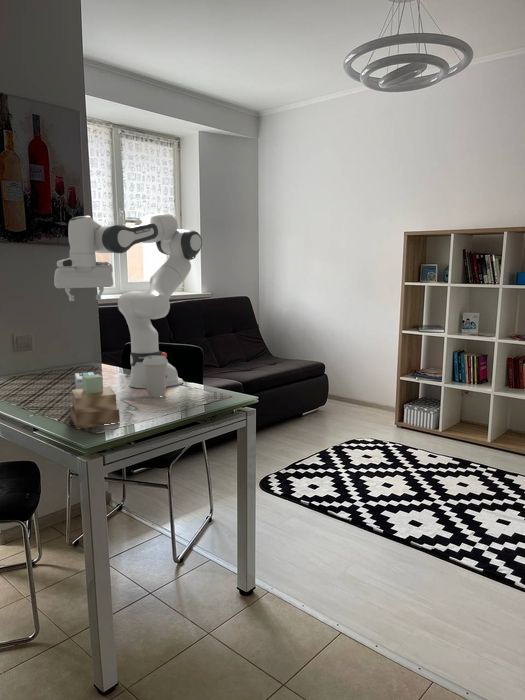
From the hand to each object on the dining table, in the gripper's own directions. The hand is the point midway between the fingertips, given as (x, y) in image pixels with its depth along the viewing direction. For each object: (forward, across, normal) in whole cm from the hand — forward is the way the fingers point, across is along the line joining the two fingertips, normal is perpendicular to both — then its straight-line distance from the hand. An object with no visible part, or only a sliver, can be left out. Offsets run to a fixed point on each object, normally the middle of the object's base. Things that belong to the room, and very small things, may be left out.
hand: (85, 300), depth 189 cm
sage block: (+27, +5, +30) cm, 41 cm away
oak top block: (+32, +5, +30) cm, 45 cm away
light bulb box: (+37, +3, +8) cm, 38 cm away
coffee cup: (+37, -23, +8) cm, 44 cm away
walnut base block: (+37, +5, +30) cm, 48 cm away
